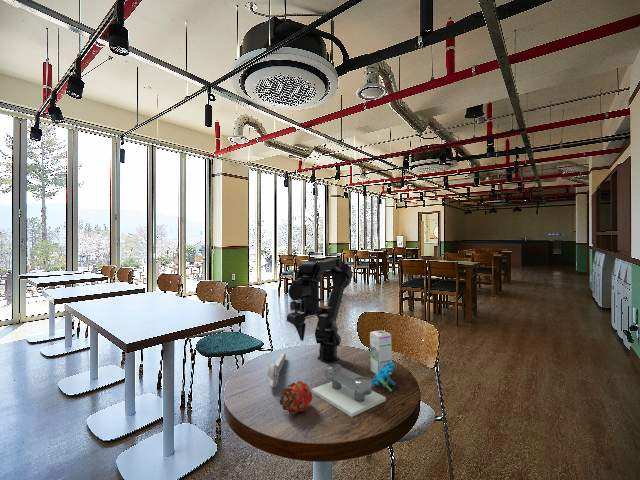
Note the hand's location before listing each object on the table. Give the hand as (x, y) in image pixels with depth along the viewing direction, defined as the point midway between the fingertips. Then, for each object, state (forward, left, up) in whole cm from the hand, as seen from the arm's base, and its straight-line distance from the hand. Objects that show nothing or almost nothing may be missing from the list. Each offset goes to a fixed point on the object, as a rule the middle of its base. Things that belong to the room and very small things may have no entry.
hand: (311, 337), depth 117 cm
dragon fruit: (+20, +19, -12) cm, 30 cm away
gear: (-11, +25, -12) cm, 30 cm away
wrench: (+12, -4, -12) cm, 18 cm away
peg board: (+3, +23, -12) cm, 26 cm away
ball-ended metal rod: (+3, +23, -8) cm, 24 cm away
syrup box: (-18, +18, -12) cm, 28 cm away
